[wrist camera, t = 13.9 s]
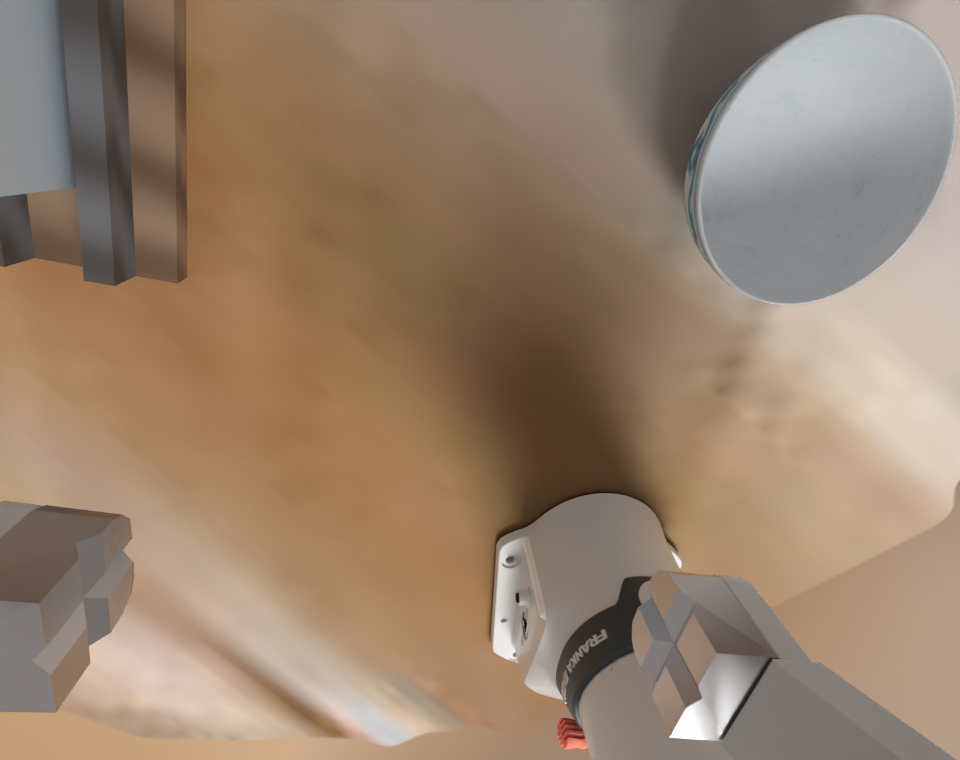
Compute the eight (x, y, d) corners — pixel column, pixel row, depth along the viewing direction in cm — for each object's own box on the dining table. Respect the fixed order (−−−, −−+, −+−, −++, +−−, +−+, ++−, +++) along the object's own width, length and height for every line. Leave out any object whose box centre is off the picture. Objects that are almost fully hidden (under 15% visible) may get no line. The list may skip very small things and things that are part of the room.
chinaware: (620, 93, 32) (678, 79, 25) (847, 3, 31) (971, -37, 24) (662, 304, 38) (716, 340, 32) (850, 234, 38) (948, 254, 31)
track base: (186, 277, 34) (159, 293, 30) (-23, 239, 31) (-80, 252, 28) (184, -264, 23) (142, -339, 20) (-127, -382, 21) (-239, -492, 17)
